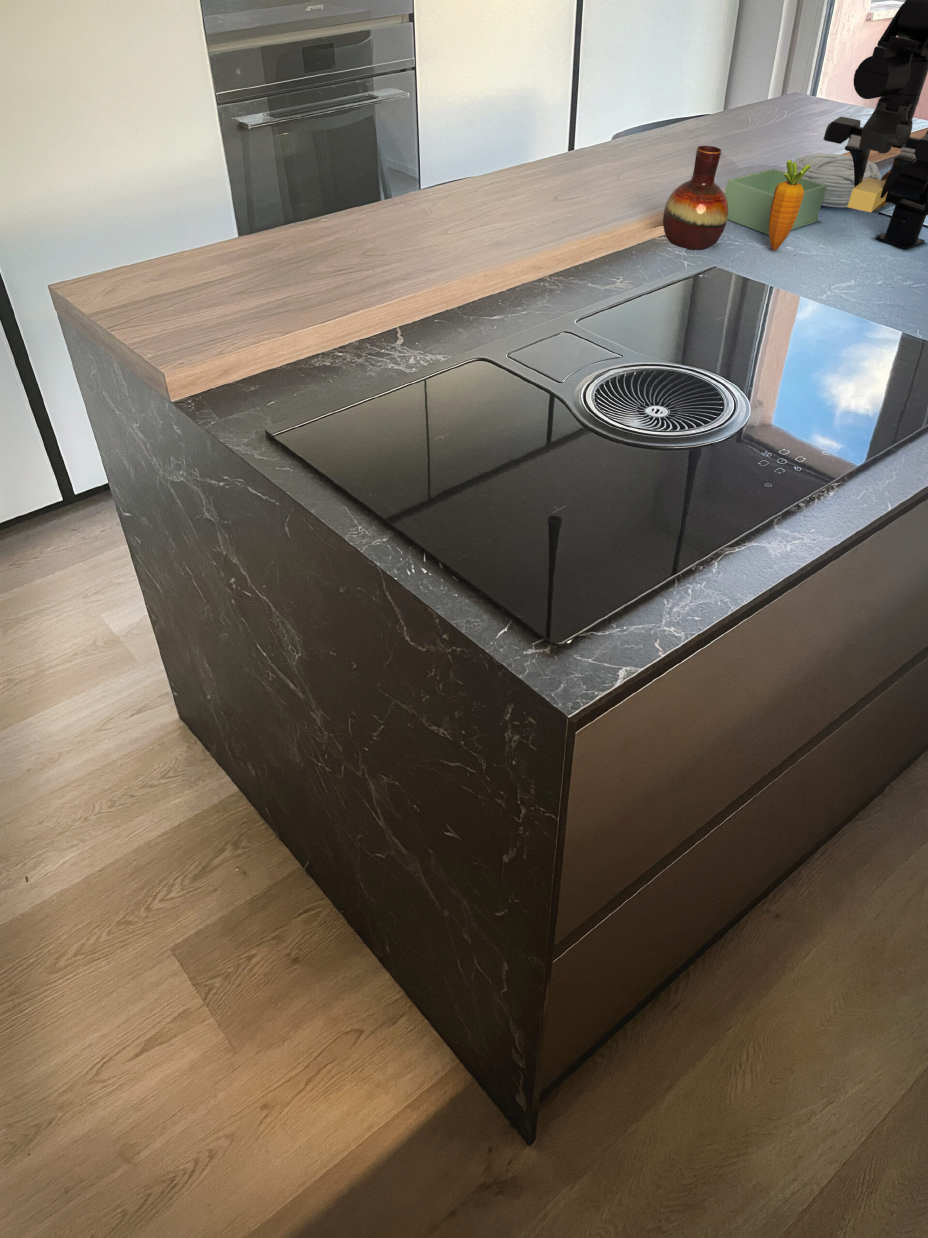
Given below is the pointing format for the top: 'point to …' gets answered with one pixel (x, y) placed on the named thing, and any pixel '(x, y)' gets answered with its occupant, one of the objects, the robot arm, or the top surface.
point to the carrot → (785, 205)
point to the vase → (697, 205)
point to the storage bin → (768, 199)
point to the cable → (834, 175)
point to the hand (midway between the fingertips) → (869, 194)
